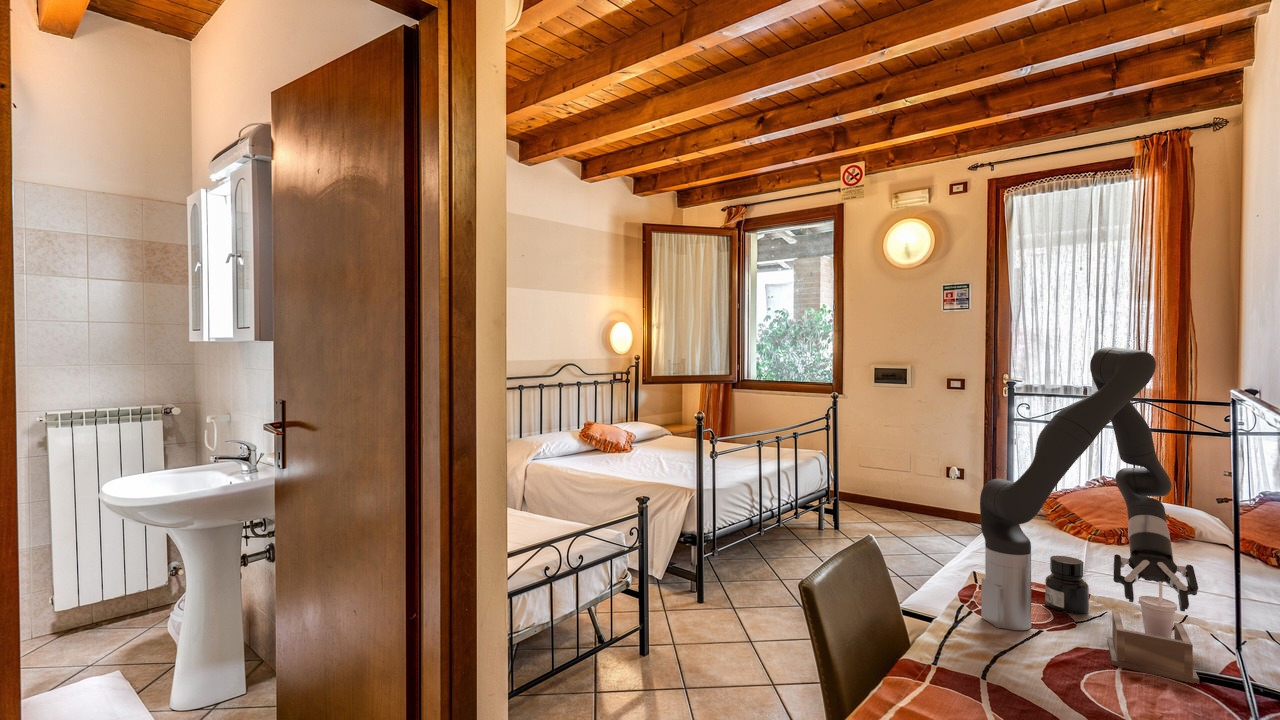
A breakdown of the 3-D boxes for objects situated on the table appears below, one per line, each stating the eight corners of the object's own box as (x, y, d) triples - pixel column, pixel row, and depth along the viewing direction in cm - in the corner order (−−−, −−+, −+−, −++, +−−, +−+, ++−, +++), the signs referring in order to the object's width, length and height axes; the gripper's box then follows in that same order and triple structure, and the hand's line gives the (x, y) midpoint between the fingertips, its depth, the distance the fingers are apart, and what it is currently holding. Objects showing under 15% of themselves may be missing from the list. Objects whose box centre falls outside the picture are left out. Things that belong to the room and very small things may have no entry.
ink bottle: (1041, 598, 156) (1041, 552, 157) (1081, 603, 153) (1081, 556, 153) (1051, 612, 147) (1050, 563, 148) (1094, 618, 144) (1094, 568, 144)
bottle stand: (1107, 641, 132) (1107, 609, 132) (1186, 657, 125) (1186, 623, 125) (1112, 665, 121) (1112, 630, 121) (1199, 684, 114) (1199, 647, 114)
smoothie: (1169, 655, 125) (1168, 588, 126) (1132, 643, 131) (1132, 578, 131) (1183, 649, 128) (1183, 583, 128) (1147, 637, 134) (1146, 574, 134)
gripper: (1111, 526, 142) (1116, 589, 132) (1192, 535, 134) (1203, 604, 124) (1109, 543, 146) (1114, 606, 137) (1188, 553, 138) (1198, 621, 129)
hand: (1156, 605), depth 131 cm, fingers open, 8 cm apart
